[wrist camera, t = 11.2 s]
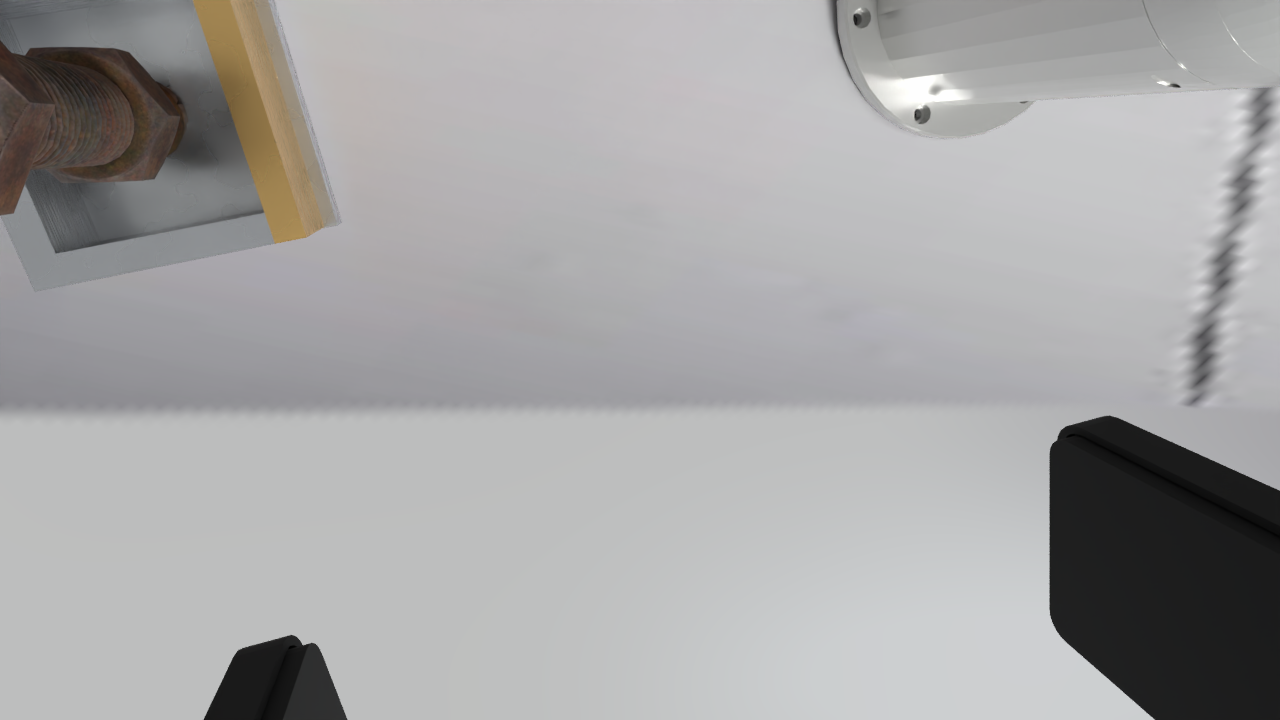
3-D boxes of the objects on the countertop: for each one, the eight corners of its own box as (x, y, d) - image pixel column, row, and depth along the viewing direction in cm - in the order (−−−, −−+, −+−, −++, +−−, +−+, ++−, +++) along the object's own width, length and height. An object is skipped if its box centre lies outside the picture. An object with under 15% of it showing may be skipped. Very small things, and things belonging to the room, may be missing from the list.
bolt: (37, 87, 29) (-372, 38, 15) (148, 17, 29) (-153, -96, 15) (147, 216, 31) (-121, 279, 17) (251, 150, 31) (71, 159, 17)
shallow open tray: (258, -49, 30) (221, -79, 26) (341, 222, 34) (321, 235, 29) (-40, -4, 29) (-130, -28, 24) (80, 274, 32) (19, 296, 28)
